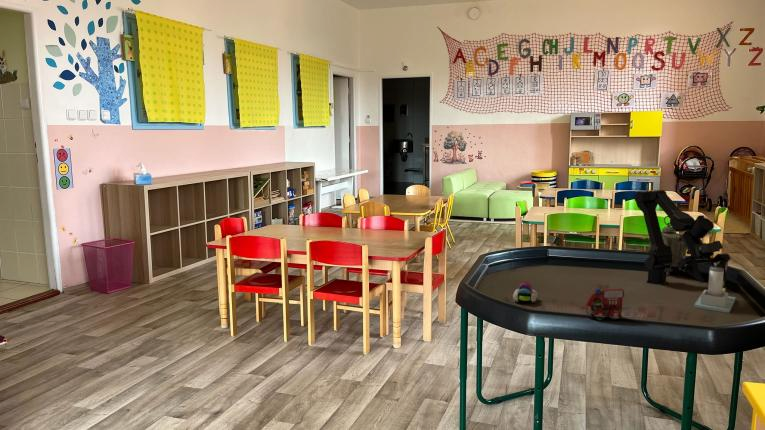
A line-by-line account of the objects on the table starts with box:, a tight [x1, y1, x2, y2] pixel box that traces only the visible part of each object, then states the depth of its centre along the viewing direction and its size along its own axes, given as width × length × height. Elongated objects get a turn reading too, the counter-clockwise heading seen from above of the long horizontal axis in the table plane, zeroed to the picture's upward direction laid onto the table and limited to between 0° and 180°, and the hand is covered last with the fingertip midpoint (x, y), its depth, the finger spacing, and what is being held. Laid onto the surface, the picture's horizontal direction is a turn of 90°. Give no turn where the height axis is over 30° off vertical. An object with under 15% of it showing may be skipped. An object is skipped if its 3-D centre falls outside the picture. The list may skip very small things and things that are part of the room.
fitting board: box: [693, 287, 737, 314], centre depth 219 cm, size 11×18×4 cm, turn 144°
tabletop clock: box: [648, 215, 687, 277], centre depth 261 cm, size 14×9×25 cm, turn 6°
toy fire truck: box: [585, 288, 625, 318], centre depth 206 cm, size 7×12×10 cm, turn 87°
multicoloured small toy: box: [512, 281, 538, 302], centre depth 226 cm, size 8×10×7 cm
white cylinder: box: [707, 266, 724, 297], centre depth 216 cm, size 4×4×13 cm
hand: (714, 281), depth 216 cm, fingers open, 9 cm apart
